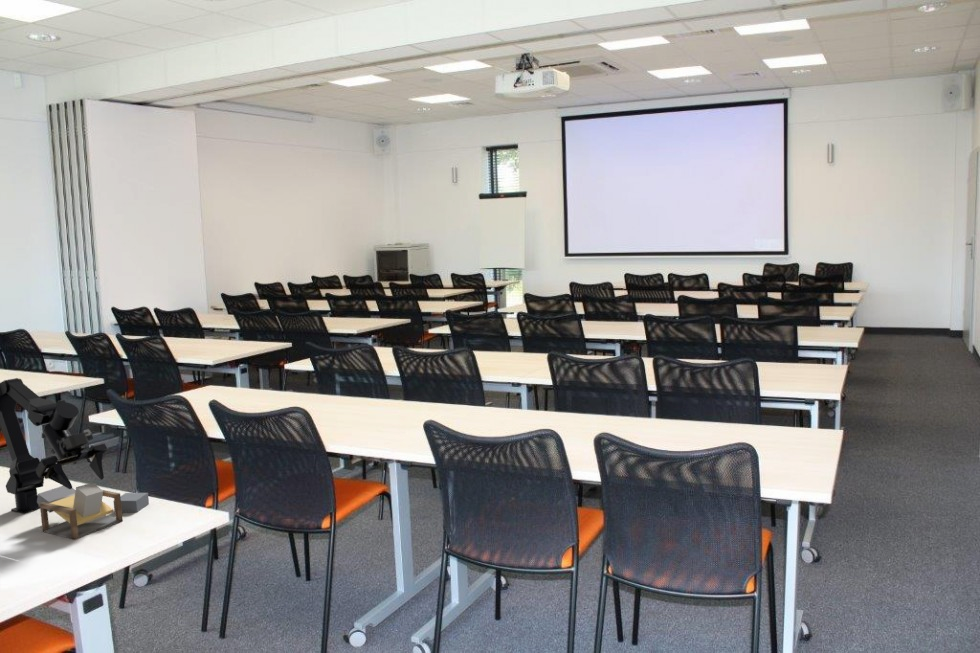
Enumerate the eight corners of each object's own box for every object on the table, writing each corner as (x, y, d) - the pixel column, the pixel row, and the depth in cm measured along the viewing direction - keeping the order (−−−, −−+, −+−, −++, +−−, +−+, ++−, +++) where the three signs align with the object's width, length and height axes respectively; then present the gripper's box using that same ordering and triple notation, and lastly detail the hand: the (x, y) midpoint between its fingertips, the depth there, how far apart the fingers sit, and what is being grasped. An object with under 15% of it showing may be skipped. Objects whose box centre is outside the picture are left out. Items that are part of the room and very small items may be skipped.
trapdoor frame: (42, 531, 229) (39, 503, 228) (91, 514, 242) (88, 487, 241) (74, 539, 223) (71, 510, 222) (122, 521, 236) (120, 493, 235)
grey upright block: (72, 508, 230) (76, 487, 228) (89, 503, 234) (93, 482, 232) (83, 517, 228) (86, 495, 226) (99, 512, 232) (103, 490, 230)
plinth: (114, 512, 243) (113, 500, 243) (126, 504, 250) (125, 492, 250) (137, 512, 243) (136, 500, 242) (149, 503, 250) (147, 492, 249)
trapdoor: (31, 504, 233) (33, 492, 232) (70, 491, 243) (72, 479, 242) (72, 535, 225) (74, 523, 224) (111, 521, 236) (113, 508, 235)
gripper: (36, 430, 222) (63, 475, 217) (101, 415, 237) (128, 457, 233) (24, 455, 227) (50, 500, 223) (88, 438, 243) (114, 480, 238)
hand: (87, 483), depth 229 cm, fingers open, 9 cm apart
